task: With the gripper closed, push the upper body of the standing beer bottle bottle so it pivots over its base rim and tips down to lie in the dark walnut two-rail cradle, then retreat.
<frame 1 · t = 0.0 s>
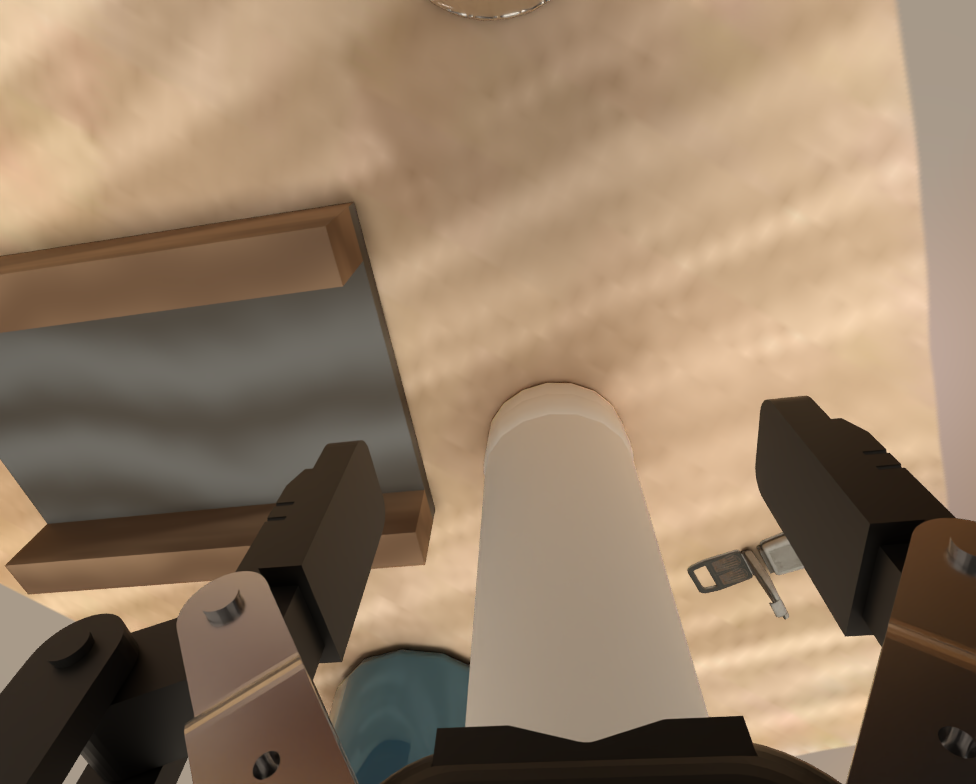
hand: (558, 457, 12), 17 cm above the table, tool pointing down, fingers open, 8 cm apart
wine bottle: (422, 692, 46), on the table
bottle: (555, 437, 32), on the table
cradle: (189, 403, 32), on the table
compact mirror: (753, 553, 37), on the table
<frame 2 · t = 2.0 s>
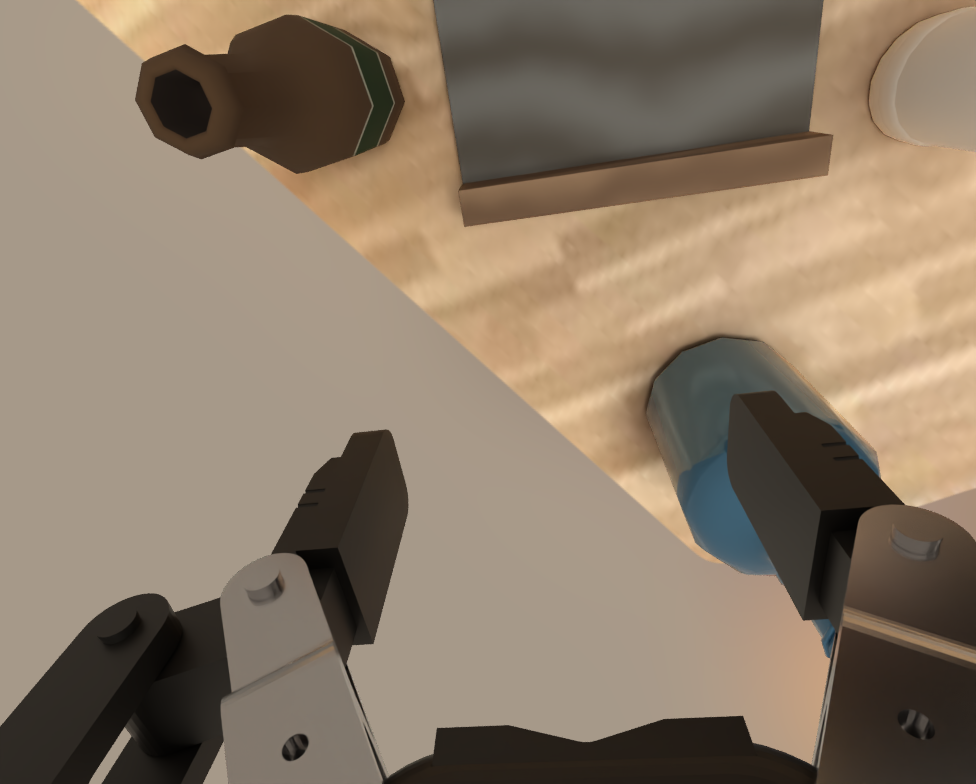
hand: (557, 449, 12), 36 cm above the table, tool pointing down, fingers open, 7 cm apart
wine bottle: (716, 398, 52), on the table
bottle: (925, 80, 39), on the table
cradle: (624, 48, 39), on the table
beer bottle: (355, 95, 41), on the table
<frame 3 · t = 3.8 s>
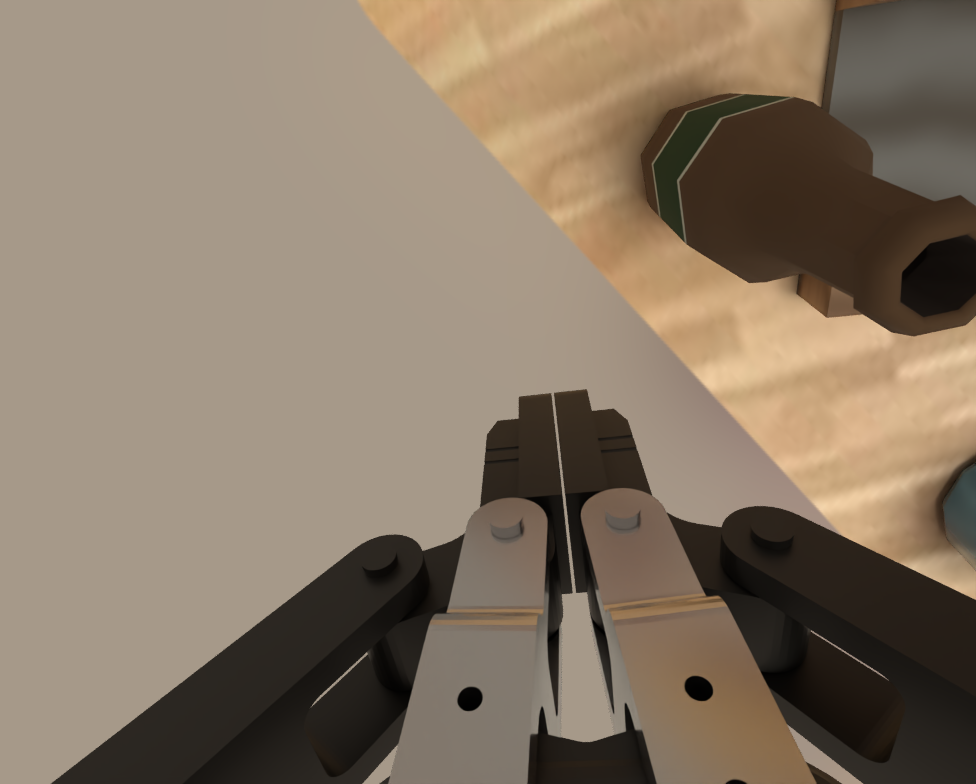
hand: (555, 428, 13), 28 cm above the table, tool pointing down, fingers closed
beer bottle: (698, 161, 35), on the table
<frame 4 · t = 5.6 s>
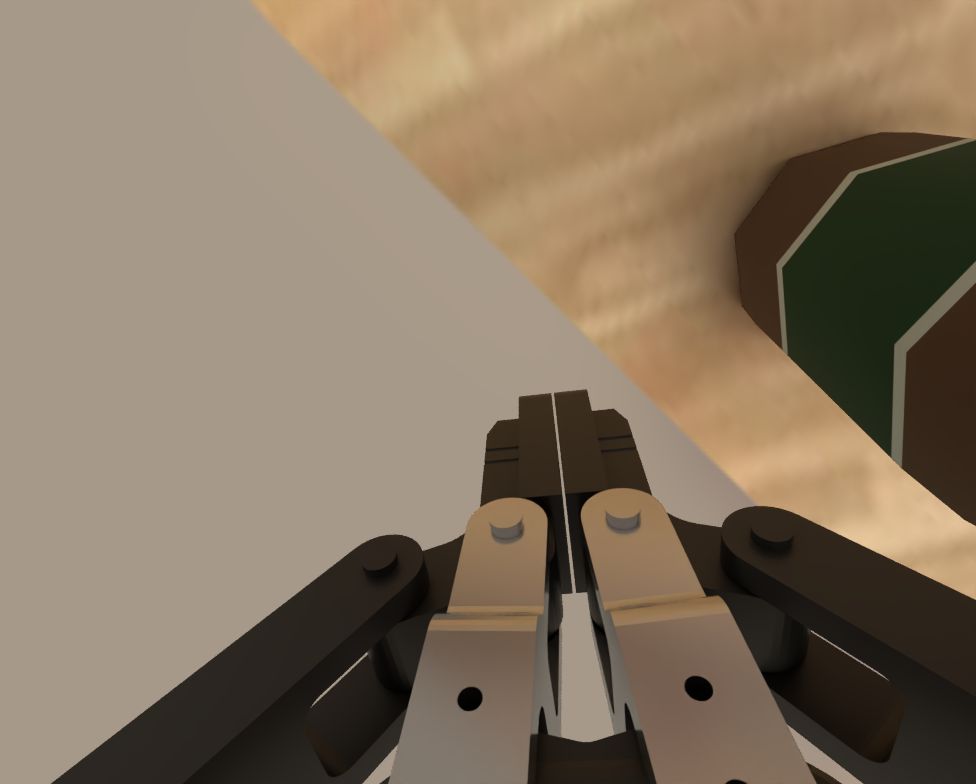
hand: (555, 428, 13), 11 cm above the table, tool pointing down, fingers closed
beer bottle: (828, 241, 21), on the table
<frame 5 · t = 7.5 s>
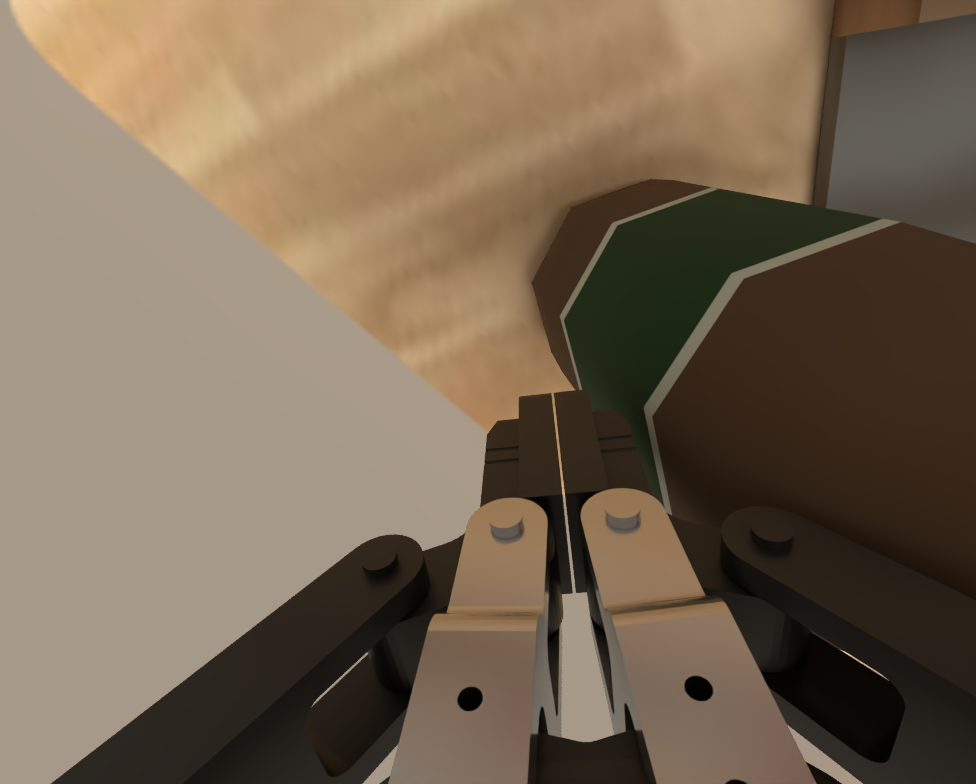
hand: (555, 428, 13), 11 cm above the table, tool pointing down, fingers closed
beer bottle: (623, 282, 22), point 1 cm above the table, touching gripper
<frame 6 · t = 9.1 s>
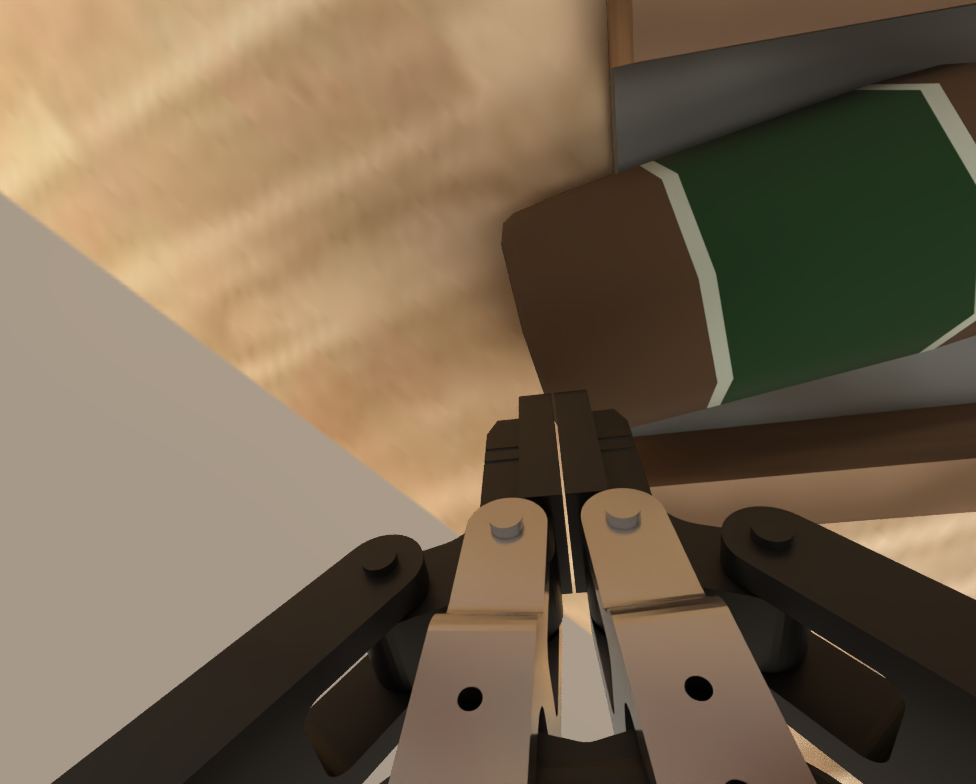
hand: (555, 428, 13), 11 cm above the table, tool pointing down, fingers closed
cradle: (965, 227, 20), on the table
beer bottle: (529, 332, 18), point 5 cm above the table, touching cradle
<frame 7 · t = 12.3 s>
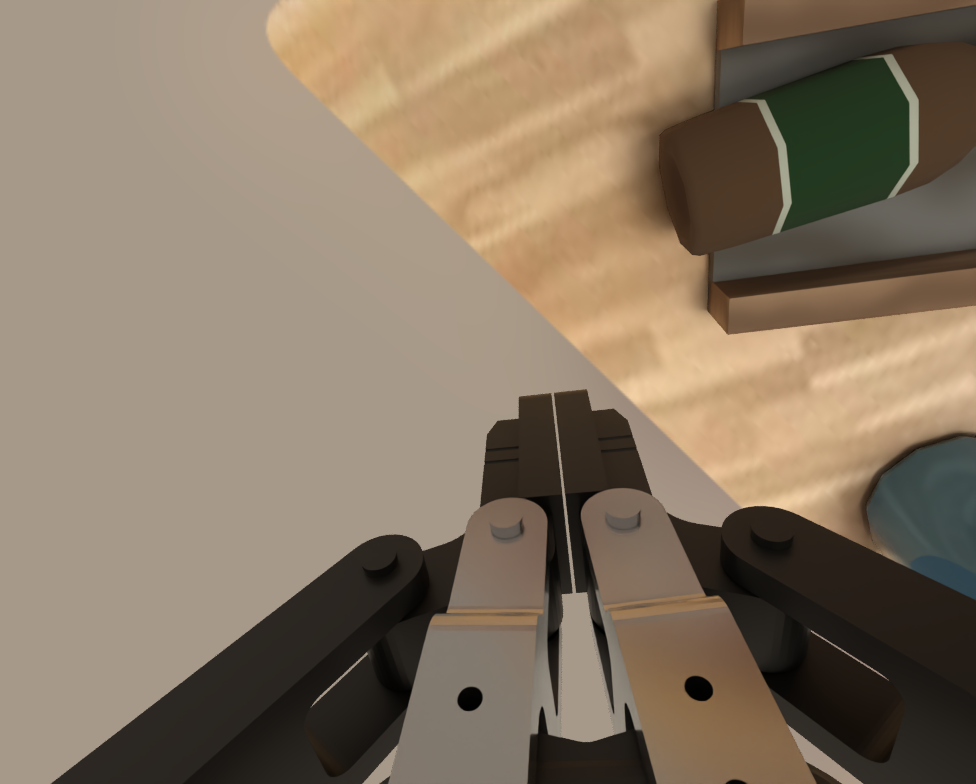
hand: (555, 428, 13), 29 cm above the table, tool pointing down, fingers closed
wine bottle: (940, 494, 48), on the table
cradle: (917, 143, 35), on the table
beer bottle: (672, 196, 33), point 5 cm above the table, touching cradle
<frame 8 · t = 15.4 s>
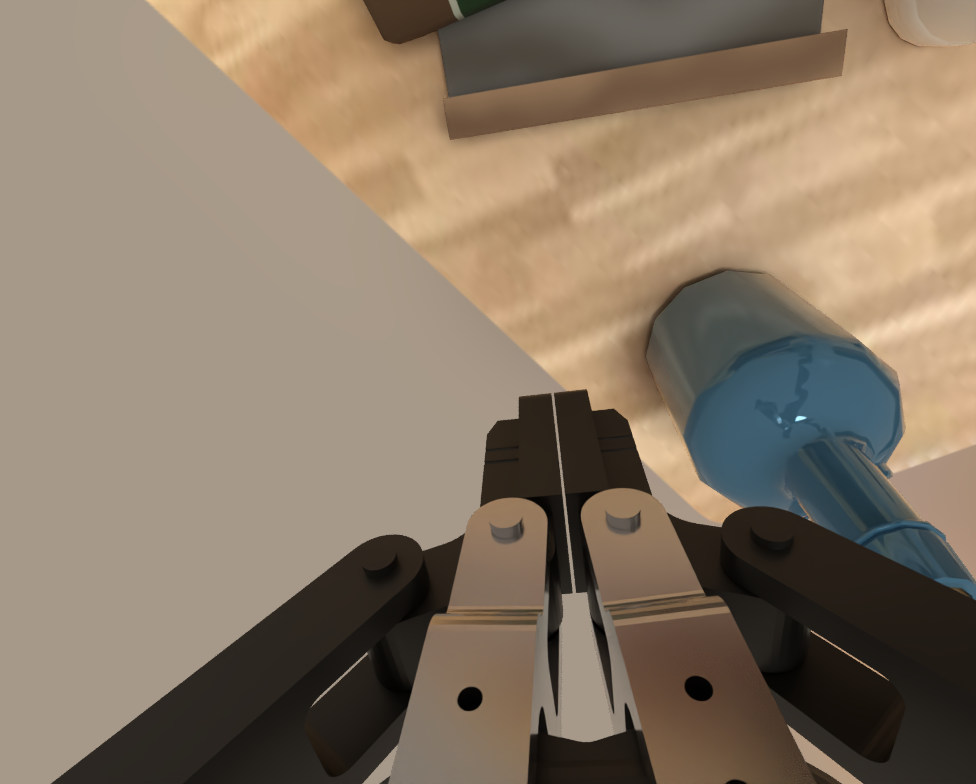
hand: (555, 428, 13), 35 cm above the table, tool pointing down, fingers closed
wine bottle: (721, 341, 49), on the table
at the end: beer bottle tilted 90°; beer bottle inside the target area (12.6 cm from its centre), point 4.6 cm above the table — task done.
